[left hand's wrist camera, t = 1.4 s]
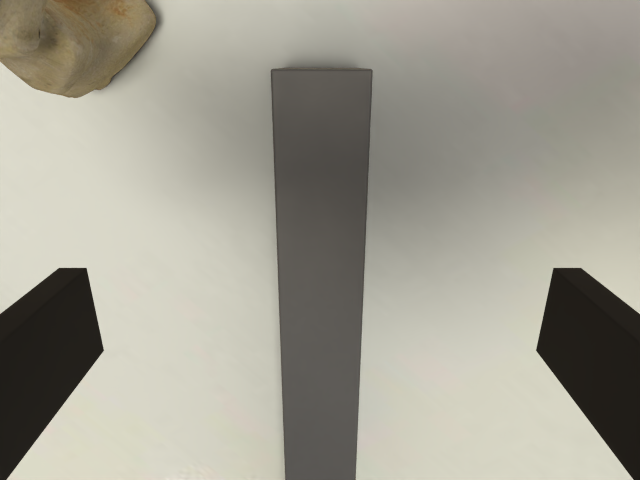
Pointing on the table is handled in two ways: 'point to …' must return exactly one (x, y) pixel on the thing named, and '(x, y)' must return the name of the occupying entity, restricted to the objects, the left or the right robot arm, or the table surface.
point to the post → (321, 261)
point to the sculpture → (71, 41)
